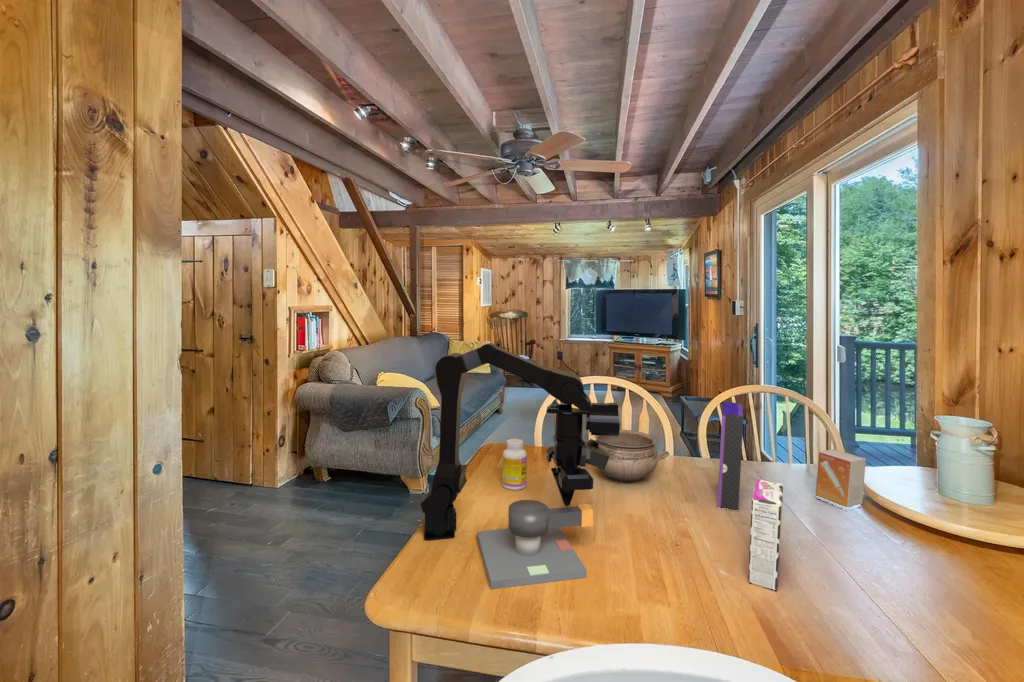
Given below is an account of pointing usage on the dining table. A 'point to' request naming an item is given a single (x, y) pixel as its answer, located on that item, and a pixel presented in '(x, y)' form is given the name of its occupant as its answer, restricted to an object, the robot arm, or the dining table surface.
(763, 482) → the candy bar box
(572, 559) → the base
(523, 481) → the supplement bottle
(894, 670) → the dining table surface
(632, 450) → the cooking pot
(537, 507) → the lock lever handle
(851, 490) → the small box
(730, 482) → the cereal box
